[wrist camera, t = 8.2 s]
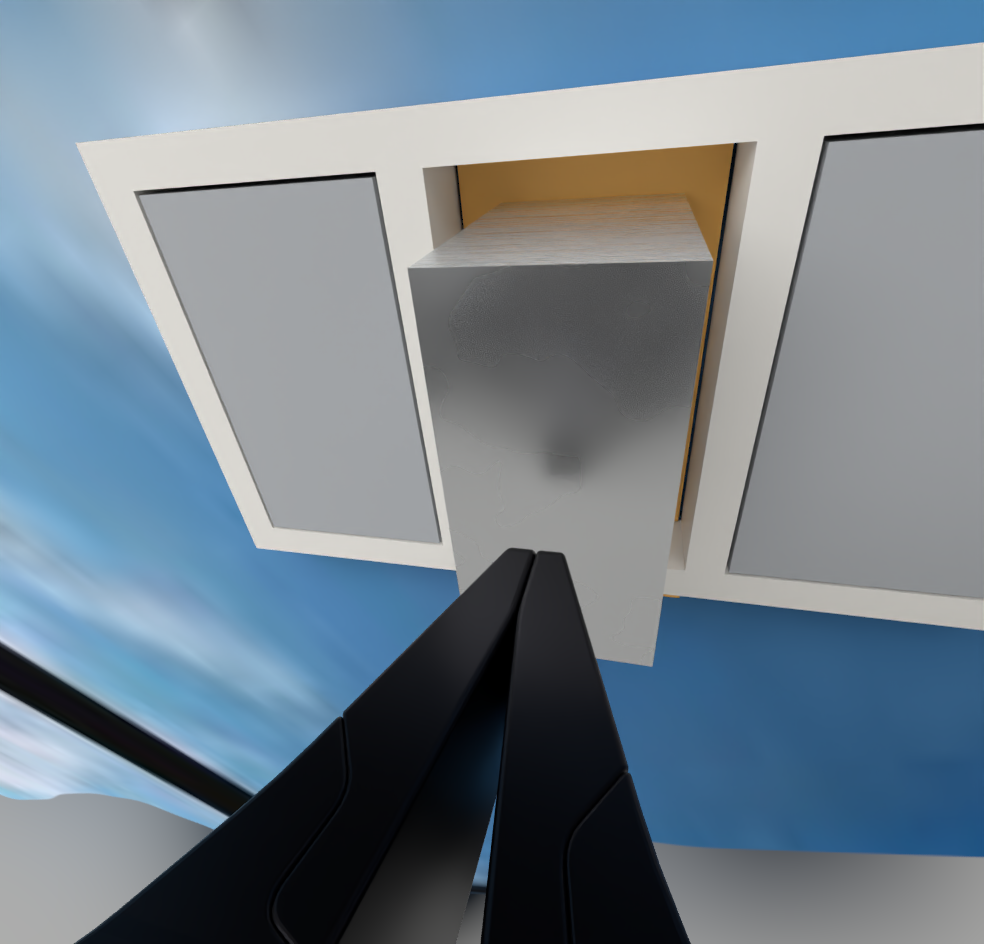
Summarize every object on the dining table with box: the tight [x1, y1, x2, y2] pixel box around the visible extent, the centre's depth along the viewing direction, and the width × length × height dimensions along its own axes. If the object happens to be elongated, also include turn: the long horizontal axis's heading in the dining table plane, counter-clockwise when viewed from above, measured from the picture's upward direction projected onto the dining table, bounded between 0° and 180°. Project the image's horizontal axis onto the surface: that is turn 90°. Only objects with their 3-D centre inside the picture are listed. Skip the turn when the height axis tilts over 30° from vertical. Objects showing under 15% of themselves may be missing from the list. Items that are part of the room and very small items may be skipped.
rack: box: [76, 43, 984, 630], centre depth 13 cm, size 22×12×2 cm, turn 95°
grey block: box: [407, 193, 713, 667], centre depth 11 cm, size 4×8×6 cm, turn 4°
